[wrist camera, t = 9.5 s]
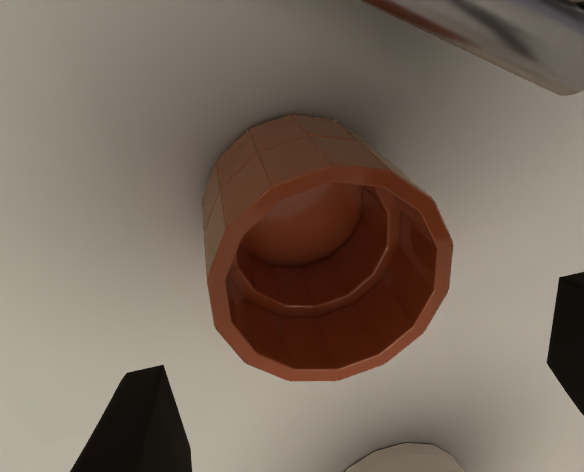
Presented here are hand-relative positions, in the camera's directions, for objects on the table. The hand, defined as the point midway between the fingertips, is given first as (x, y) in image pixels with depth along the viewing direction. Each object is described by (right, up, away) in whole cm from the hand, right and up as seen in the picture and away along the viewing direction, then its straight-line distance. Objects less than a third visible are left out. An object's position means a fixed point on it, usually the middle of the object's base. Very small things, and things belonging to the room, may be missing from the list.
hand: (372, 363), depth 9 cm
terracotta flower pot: (-1, +3, +7) cm, 8 cm away
